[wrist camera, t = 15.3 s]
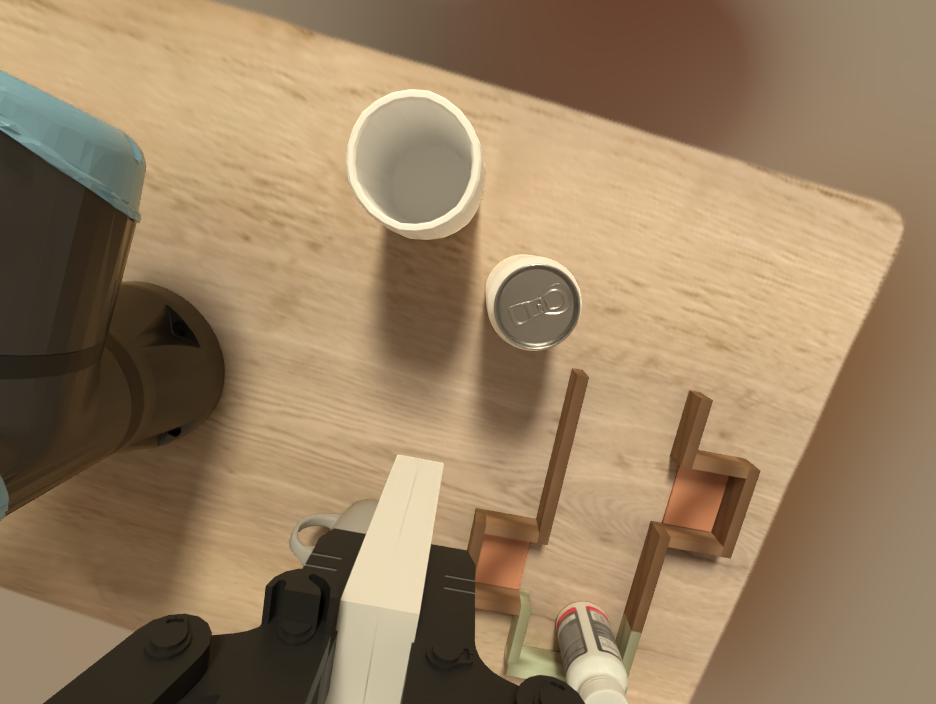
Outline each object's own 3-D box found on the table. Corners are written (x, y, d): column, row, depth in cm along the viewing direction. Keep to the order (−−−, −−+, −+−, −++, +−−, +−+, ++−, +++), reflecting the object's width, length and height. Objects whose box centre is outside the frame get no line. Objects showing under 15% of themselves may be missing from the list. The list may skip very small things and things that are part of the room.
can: (568, 310, 44) (601, 333, 32) (501, 338, 44) (510, 371, 33) (541, 242, 43) (565, 240, 31) (473, 272, 43) (471, 281, 32)
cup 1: (391, 569, 50) (374, 635, 41) (299, 531, 49) (262, 589, 41) (421, 507, 48) (409, 562, 40) (327, 467, 47) (294, 514, 39)
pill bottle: (560, 649, 51) (579, 741, 42) (550, 605, 50) (566, 689, 41) (612, 639, 51) (643, 729, 41) (602, 594, 50) (631, 677, 40)
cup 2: (469, 124, 41) (463, 61, 27) (496, 225, 42) (504, 214, 28) (372, 155, 41) (318, 109, 28) (402, 253, 43) (366, 256, 29)
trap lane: (448, 640, 51) (446, 664, 48) (507, 356, 45) (509, 363, 42) (672, 680, 52) (684, 706, 49) (763, 404, 45) (783, 415, 42)
